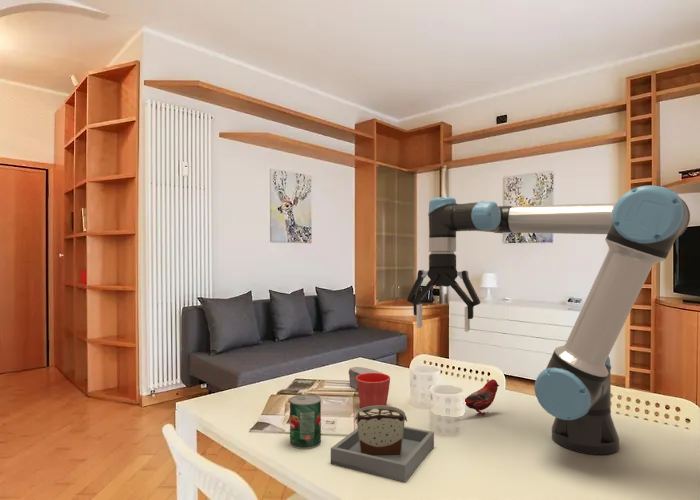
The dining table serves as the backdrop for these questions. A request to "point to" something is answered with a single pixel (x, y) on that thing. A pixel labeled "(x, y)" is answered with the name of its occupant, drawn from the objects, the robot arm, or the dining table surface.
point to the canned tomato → (305, 421)
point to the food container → (381, 430)
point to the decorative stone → (357, 371)
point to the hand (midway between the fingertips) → (442, 329)
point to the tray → (390, 467)
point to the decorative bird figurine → (482, 397)
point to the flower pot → (373, 389)
